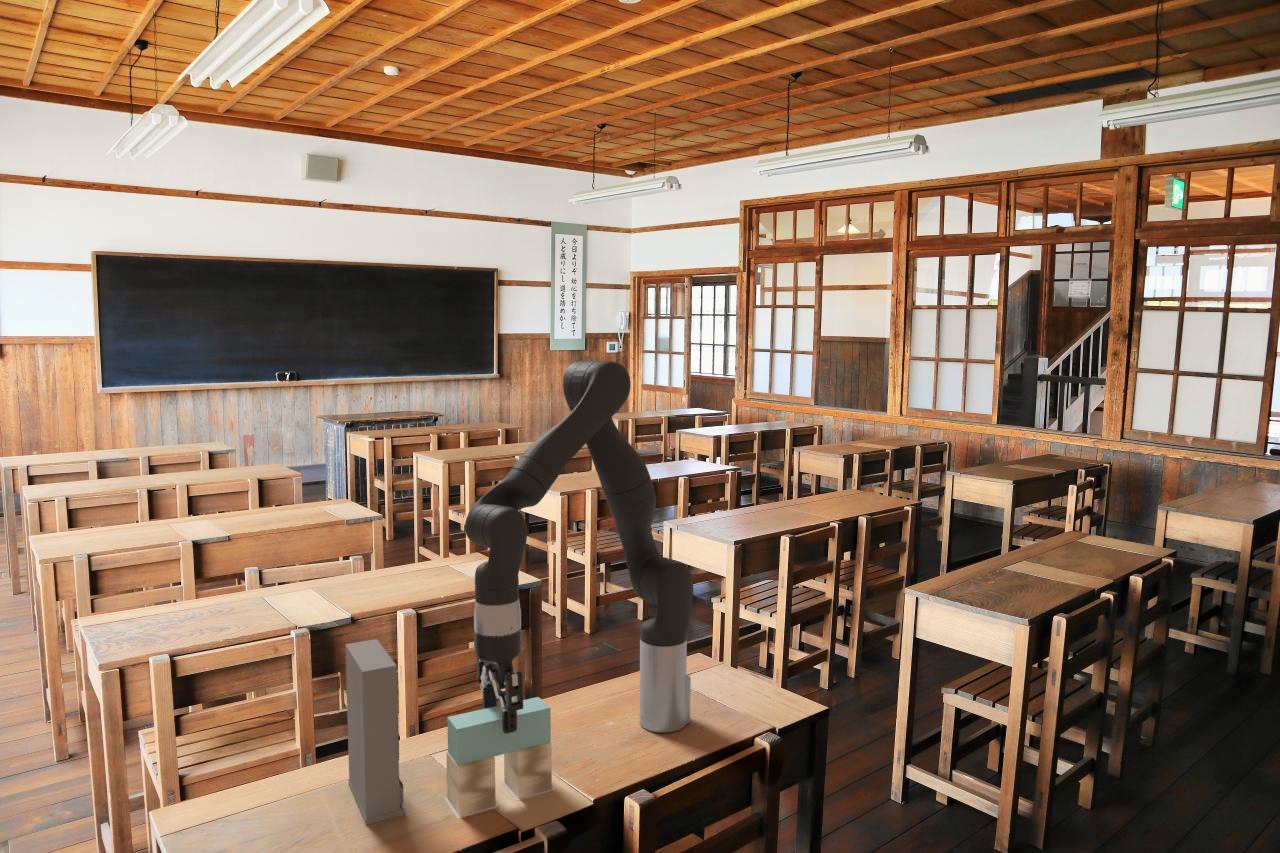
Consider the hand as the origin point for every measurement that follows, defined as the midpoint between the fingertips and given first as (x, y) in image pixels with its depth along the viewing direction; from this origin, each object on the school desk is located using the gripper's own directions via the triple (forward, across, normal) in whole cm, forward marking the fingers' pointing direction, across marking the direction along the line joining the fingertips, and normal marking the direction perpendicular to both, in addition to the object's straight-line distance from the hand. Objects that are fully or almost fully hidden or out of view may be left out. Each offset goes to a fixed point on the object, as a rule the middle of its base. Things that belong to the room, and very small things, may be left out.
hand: (499, 721), depth 138 cm
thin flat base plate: (+13, 0, 0) cm, 13 cm away
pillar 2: (+12, 0, -5) cm, 13 cm away
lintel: (+4, 0, 0) cm, 4 cm away
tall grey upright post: (+13, +9, +18) cm, 24 cm away
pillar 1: (+12, 0, +5) cm, 13 cm away
